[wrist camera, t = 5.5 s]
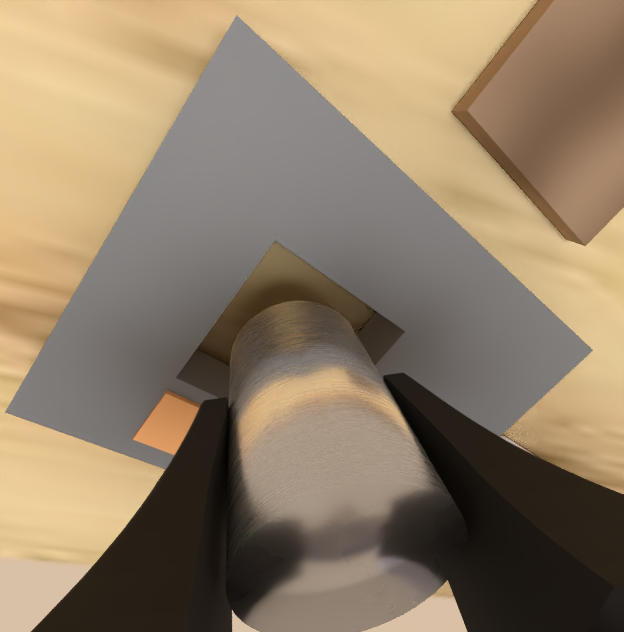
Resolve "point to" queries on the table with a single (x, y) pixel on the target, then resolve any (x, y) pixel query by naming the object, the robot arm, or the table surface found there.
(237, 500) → the steel peg
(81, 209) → the table surface
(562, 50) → the tab
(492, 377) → the hole plate
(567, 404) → the table surface
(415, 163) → the table surface
